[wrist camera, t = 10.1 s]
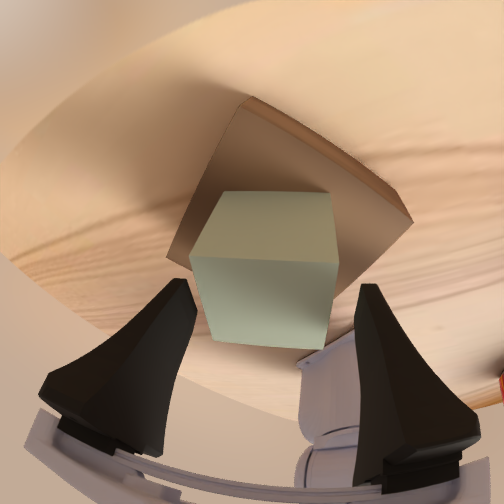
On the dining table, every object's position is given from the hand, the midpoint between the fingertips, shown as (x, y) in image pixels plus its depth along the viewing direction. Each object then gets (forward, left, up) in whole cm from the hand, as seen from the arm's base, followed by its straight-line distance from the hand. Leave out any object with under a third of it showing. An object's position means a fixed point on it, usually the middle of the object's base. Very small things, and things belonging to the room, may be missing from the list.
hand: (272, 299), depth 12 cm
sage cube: (0, 0, -4) cm, 4 cm away
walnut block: (0, 0, -8) cm, 8 cm away
